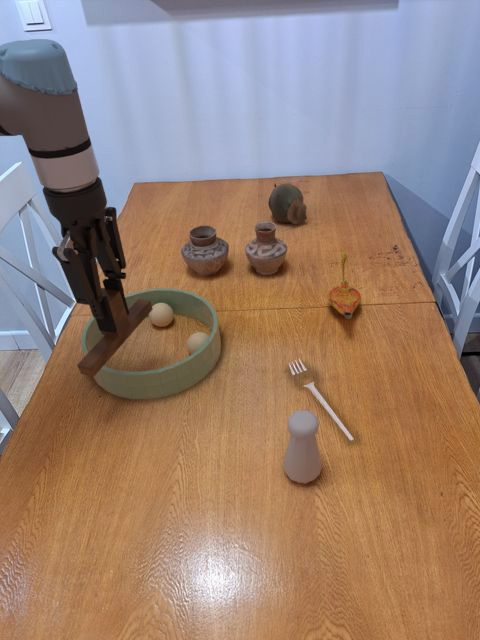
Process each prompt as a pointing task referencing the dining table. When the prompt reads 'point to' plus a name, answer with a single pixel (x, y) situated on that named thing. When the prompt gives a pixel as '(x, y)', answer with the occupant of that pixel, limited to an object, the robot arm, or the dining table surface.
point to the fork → (321, 399)
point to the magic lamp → (344, 295)
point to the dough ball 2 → (196, 341)
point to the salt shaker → (302, 447)
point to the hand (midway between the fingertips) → (114, 321)
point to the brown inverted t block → (115, 340)
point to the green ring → (170, 376)
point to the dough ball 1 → (161, 314)
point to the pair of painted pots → (212, 251)
